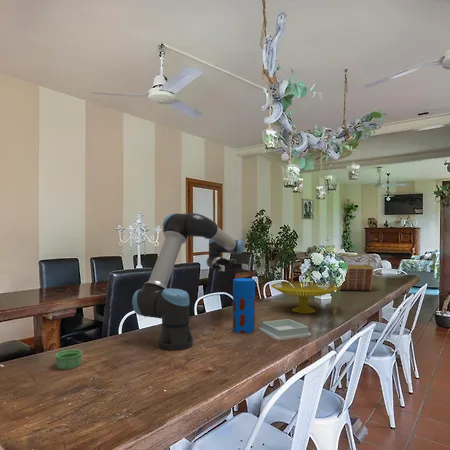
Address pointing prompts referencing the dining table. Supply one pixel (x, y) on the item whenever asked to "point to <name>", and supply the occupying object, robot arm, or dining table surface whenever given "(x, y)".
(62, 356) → the ramekin
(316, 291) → the yellow pedestal fruit bowl
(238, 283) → the leaf-print tea canister
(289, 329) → the holder
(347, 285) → the picnic basket
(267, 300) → the dining table surface
